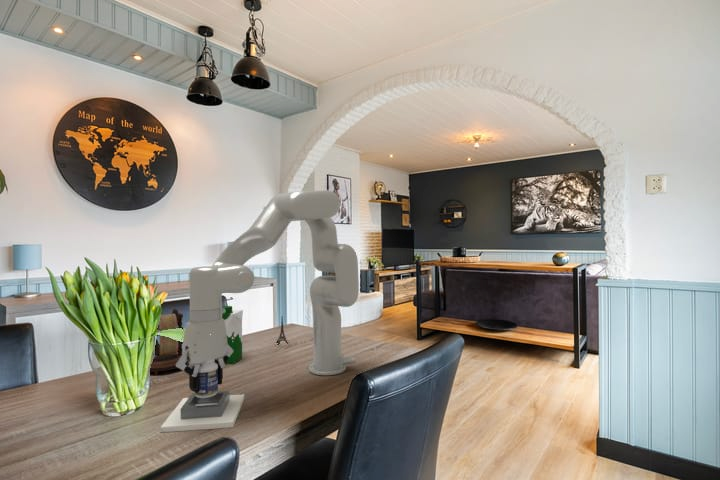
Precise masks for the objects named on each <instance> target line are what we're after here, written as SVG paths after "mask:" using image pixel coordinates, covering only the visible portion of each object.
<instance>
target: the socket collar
mask: <svg viewBox="0 0 720 480" xmlns="http://www.w3.org/2000/svg"><path fill="white" fill-rule="evenodd" d="M230 395H231V394H230V390H221V391H220V390H218V393H217V394H216V395H214V396H212V397H208V398H198V397H196V396H195V392H192V393H191V394H190V396H189V397H187V398H188V400H187V401H186V402H185V404H184V405H183V406H182V408H181V419H194V418H208V417H222V415H223V413H224V411H225V409H226V407H227V404H228V402H229V400H230ZM206 403H218V404H217V405H201V406H195V405H196V404H206Z"/></svg>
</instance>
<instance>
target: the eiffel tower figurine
mask: <svg viewBox="0 0 720 480" xmlns="http://www.w3.org/2000/svg"><path fill="white" fill-rule="evenodd" d="M283 317H284V316H283V315H281V319H280V320H281V322H280V323H281V325H280V334H279V336H278V338H277V340H276V341H277V342H276V343H278V344H277V345H279V344H280V342H281V341H285V342H286V343H287V344H288V342H287V341H288V340H287V337H286V335H285V331H284V320H283Z"/></svg>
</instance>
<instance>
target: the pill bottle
mask: <svg viewBox="0 0 720 480" xmlns="http://www.w3.org/2000/svg"><path fill="white" fill-rule="evenodd" d="M214 361H215V360H214V359H213V360H209V361H207V362H204V363H201V364H200V367H199V370H198V374H197V375H198V376H199V377H200V391H199V392H197V393H196V392H194V393H195V396H196V397H198V398H208V397H212V396H214V395H216V394H217V393H218V391H219V384H218V365H217V363H215V362H214Z"/></svg>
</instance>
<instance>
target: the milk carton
mask: <svg viewBox="0 0 720 480" xmlns="http://www.w3.org/2000/svg"><path fill="white" fill-rule="evenodd" d="M222 308H225V310H226V312H225V313H223V314H222V318H223V319H224V322H225V326H226V333H227V344H228V345H229V346H230V347H231V348H232V349H233V353H232V354H231V356H230V357H229V359H228V360H227V362H226V363H225V365H226V364H227V365H229V364H230V365H235V364H236V363H237V362H239V361H240V360H241V359H242V358H243V312H244V311H243V309H233V306H232V305H222Z"/></svg>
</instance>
